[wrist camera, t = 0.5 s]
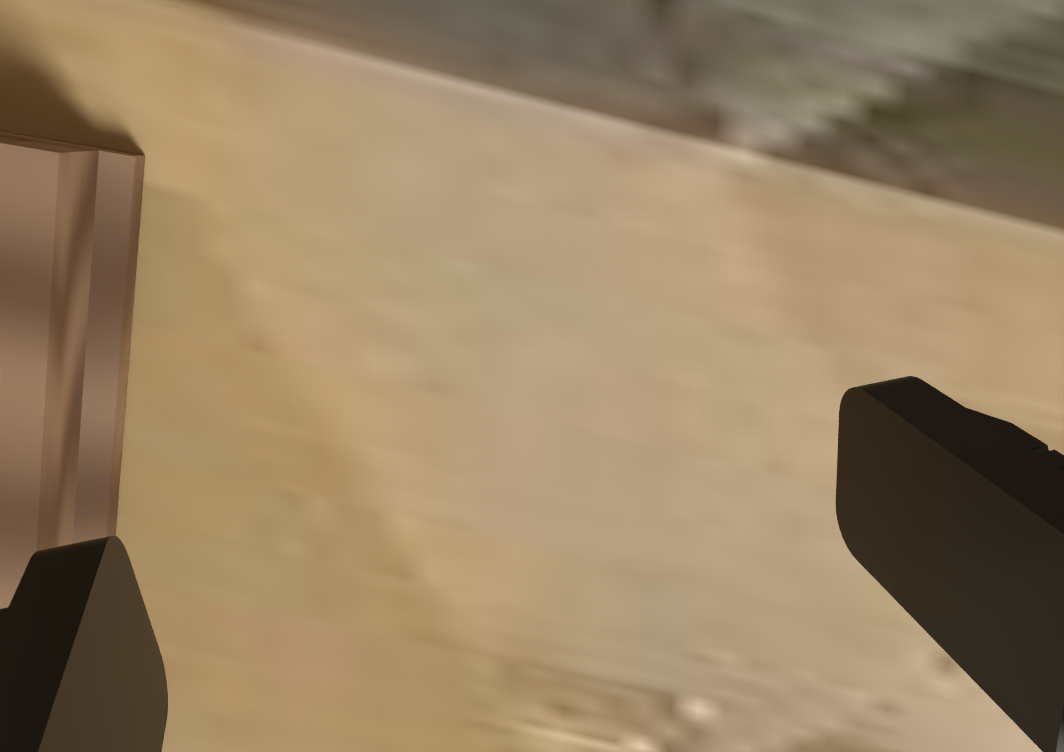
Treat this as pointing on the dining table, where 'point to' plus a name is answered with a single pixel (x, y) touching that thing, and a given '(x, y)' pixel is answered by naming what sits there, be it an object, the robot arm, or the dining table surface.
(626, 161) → the dining table surface
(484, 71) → the dining table surface
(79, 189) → the slot board
